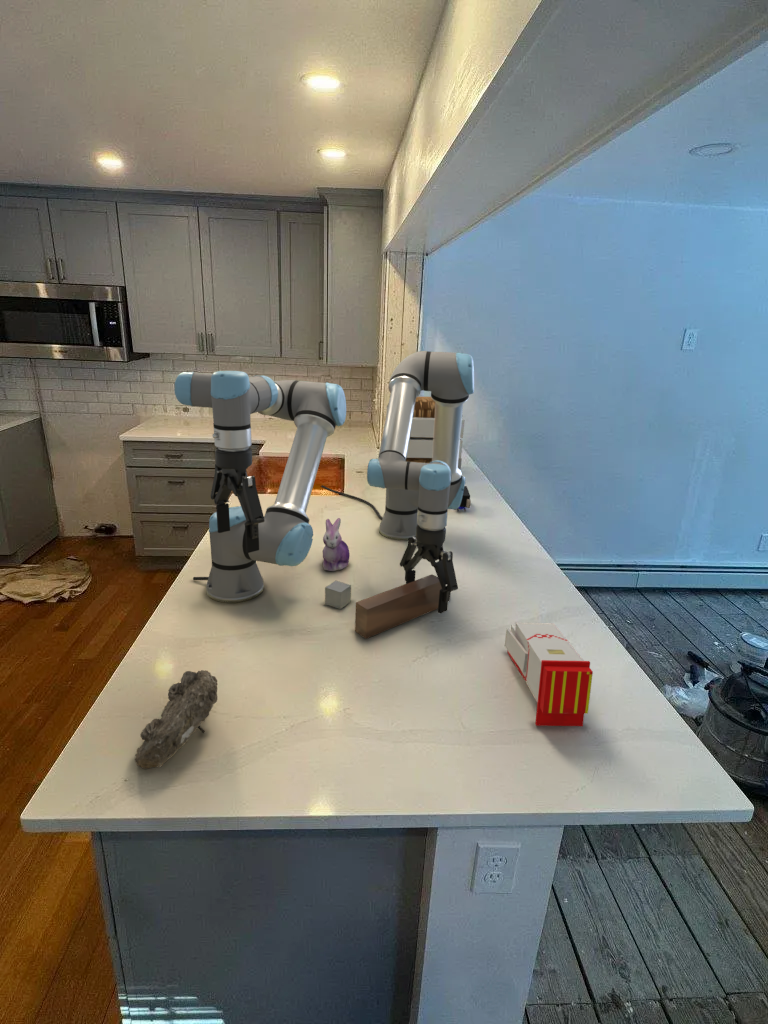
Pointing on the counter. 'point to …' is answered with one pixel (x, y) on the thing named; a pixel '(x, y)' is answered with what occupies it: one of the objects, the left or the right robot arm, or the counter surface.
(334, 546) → the figurine
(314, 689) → the counter surface
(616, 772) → the counter surface
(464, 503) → the figurine character
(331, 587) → the grey ceramic block
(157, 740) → the fossil
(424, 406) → the white slatted box
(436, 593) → the walnut block
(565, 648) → the toy
